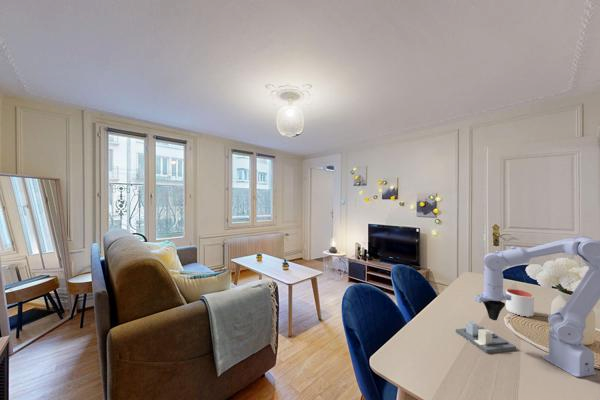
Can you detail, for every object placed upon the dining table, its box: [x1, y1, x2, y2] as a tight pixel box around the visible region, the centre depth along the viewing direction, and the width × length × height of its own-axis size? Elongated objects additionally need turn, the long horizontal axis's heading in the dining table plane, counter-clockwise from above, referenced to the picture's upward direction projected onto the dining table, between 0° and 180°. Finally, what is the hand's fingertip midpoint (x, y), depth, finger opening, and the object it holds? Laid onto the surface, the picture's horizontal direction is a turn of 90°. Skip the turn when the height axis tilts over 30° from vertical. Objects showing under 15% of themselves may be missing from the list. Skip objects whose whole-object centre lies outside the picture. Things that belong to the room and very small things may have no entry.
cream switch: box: [478, 328, 492, 344], centre depth 88 cm, size 3×3×4 cm
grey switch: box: [465, 321, 480, 336], centre depth 94 cm, size 3×3×4 cm
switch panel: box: [455, 326, 517, 354], centre depth 91 cm, size 14×13×2 cm
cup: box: [505, 288, 535, 318], centre depth 113 cm, size 10×10×10 cm
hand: (492, 319), depth 89 cm, fingers closed
